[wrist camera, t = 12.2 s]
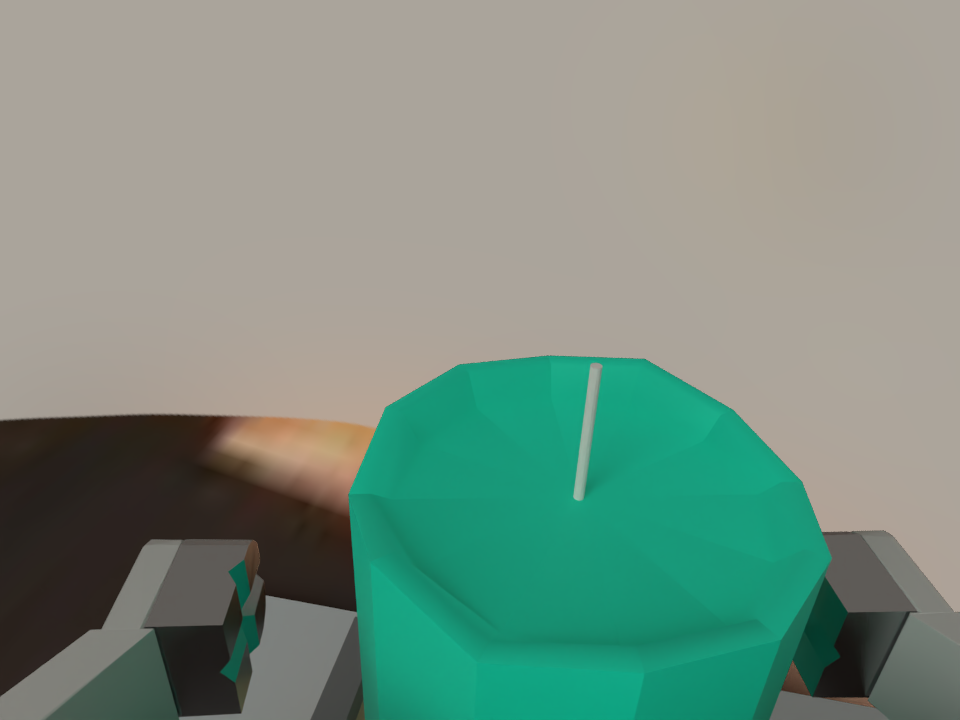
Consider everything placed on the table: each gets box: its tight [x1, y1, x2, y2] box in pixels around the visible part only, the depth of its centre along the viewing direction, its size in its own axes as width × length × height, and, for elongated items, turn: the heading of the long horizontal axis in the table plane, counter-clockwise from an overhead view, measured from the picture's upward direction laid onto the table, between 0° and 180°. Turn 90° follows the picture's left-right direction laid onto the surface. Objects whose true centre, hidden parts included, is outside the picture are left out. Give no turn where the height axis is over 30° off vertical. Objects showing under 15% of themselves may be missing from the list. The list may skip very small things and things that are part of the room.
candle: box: [348, 356, 832, 720], centre depth 11 cm, size 6×6×12 cm
